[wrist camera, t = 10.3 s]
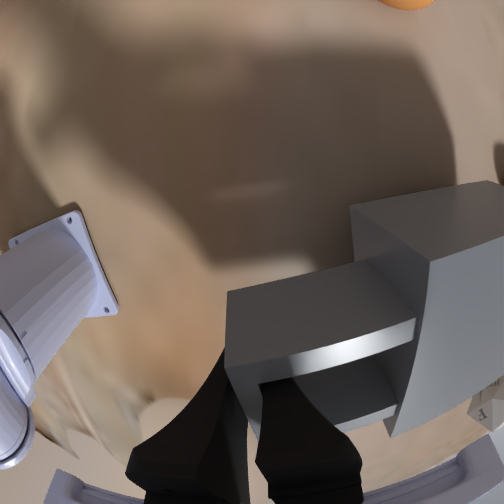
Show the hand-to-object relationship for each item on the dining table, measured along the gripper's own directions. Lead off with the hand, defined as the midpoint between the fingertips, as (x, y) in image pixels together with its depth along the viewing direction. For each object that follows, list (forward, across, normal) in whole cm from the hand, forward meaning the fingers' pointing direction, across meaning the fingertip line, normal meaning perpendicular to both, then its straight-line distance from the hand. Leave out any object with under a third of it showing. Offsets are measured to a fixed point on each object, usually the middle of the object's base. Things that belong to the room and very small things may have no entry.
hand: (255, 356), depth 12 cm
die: (+6, -26, +21) cm, 34 cm away
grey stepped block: (+3, -7, 0) cm, 8 cm away
